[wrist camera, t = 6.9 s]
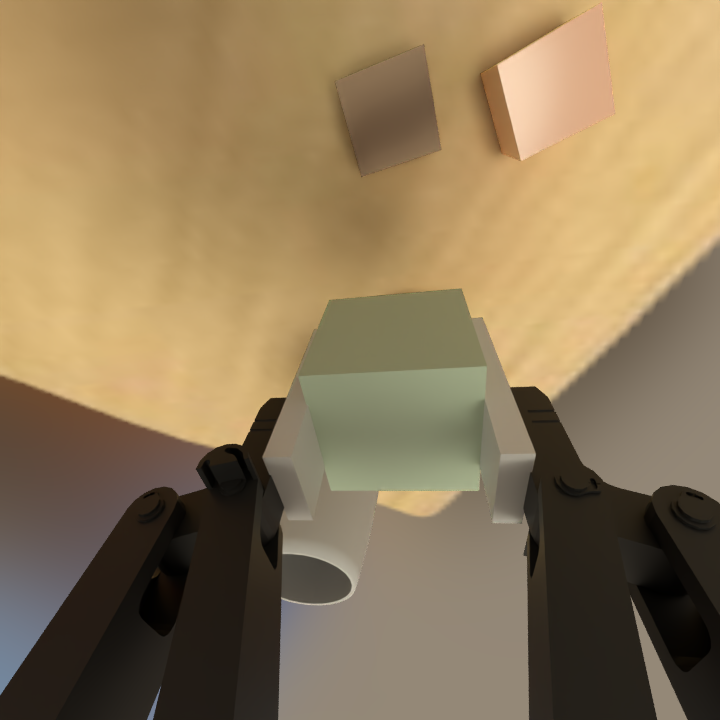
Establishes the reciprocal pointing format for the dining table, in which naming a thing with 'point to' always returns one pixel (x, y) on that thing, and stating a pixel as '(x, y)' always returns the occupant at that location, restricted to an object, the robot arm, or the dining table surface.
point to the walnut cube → (390, 111)
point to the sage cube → (397, 392)
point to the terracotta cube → (552, 87)
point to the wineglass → (327, 547)
